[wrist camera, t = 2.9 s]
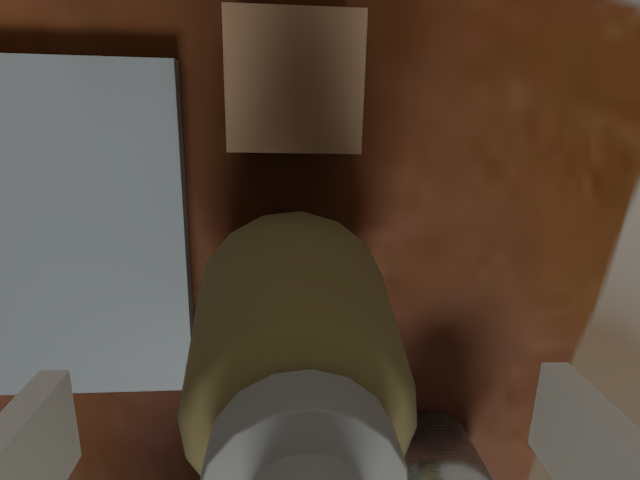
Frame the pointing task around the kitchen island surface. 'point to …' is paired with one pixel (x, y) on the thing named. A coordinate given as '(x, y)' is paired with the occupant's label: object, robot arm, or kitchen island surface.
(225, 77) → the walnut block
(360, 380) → the squeeze bottle
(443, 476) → the grey metal cylinder
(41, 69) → the light grey rectangular plate
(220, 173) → the kitchen island surface
